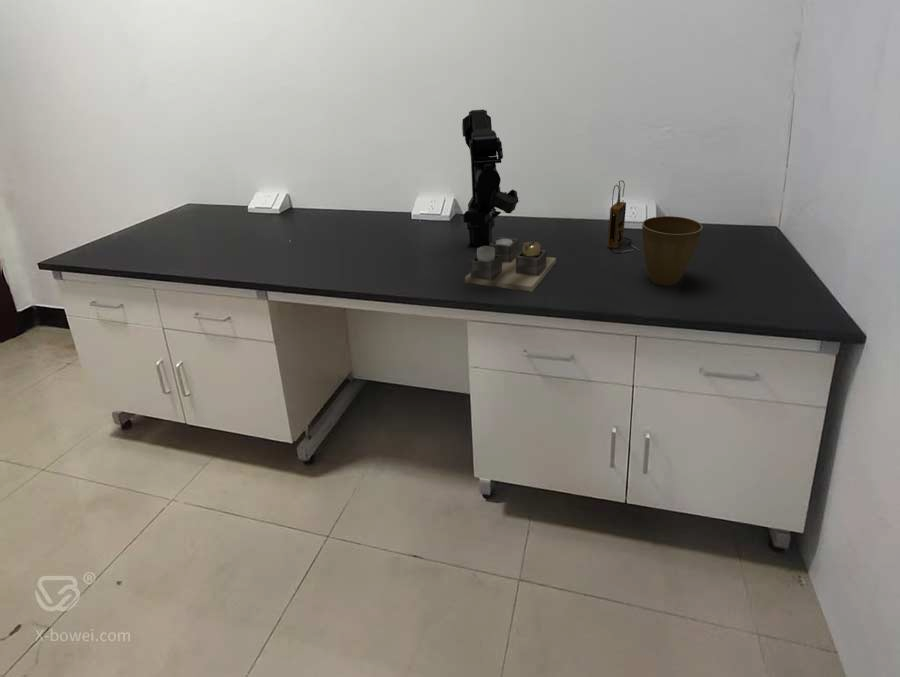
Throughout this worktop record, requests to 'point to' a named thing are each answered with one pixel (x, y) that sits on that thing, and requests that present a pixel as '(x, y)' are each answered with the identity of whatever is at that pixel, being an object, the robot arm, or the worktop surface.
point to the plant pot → (669, 247)
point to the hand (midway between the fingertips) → (487, 238)
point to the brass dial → (531, 249)
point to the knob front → (486, 254)
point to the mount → (510, 268)
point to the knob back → (504, 242)
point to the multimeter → (617, 223)
